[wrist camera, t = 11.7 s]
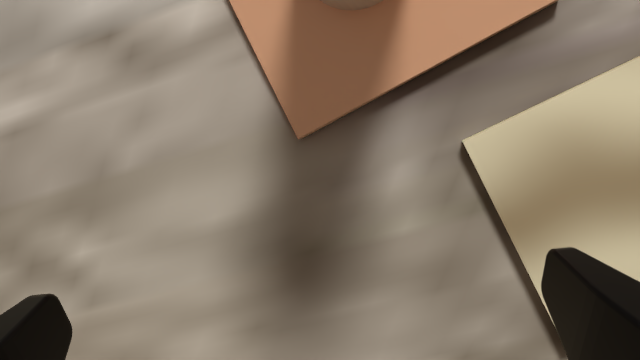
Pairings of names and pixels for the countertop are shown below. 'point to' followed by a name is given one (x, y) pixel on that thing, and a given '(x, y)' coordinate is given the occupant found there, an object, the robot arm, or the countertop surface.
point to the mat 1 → (362, 47)
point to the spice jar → (351, 4)
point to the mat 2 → (569, 173)
